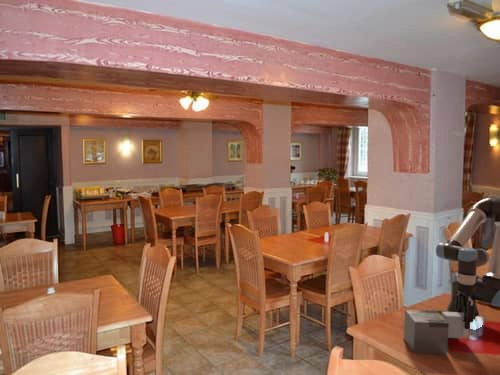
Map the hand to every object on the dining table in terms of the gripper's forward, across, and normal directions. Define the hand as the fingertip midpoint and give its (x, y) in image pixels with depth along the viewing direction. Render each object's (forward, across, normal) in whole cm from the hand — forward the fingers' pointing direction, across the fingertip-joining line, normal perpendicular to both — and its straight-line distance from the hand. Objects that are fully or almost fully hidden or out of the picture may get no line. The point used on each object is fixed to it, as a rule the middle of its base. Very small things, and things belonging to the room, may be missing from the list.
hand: (462, 332), depth 184 cm
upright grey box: (+2, 0, -4) cm, 4 cm away
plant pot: (+5, -10, -4) cm, 12 cm away
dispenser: (+5, +6, -19) cm, 20 cm away
